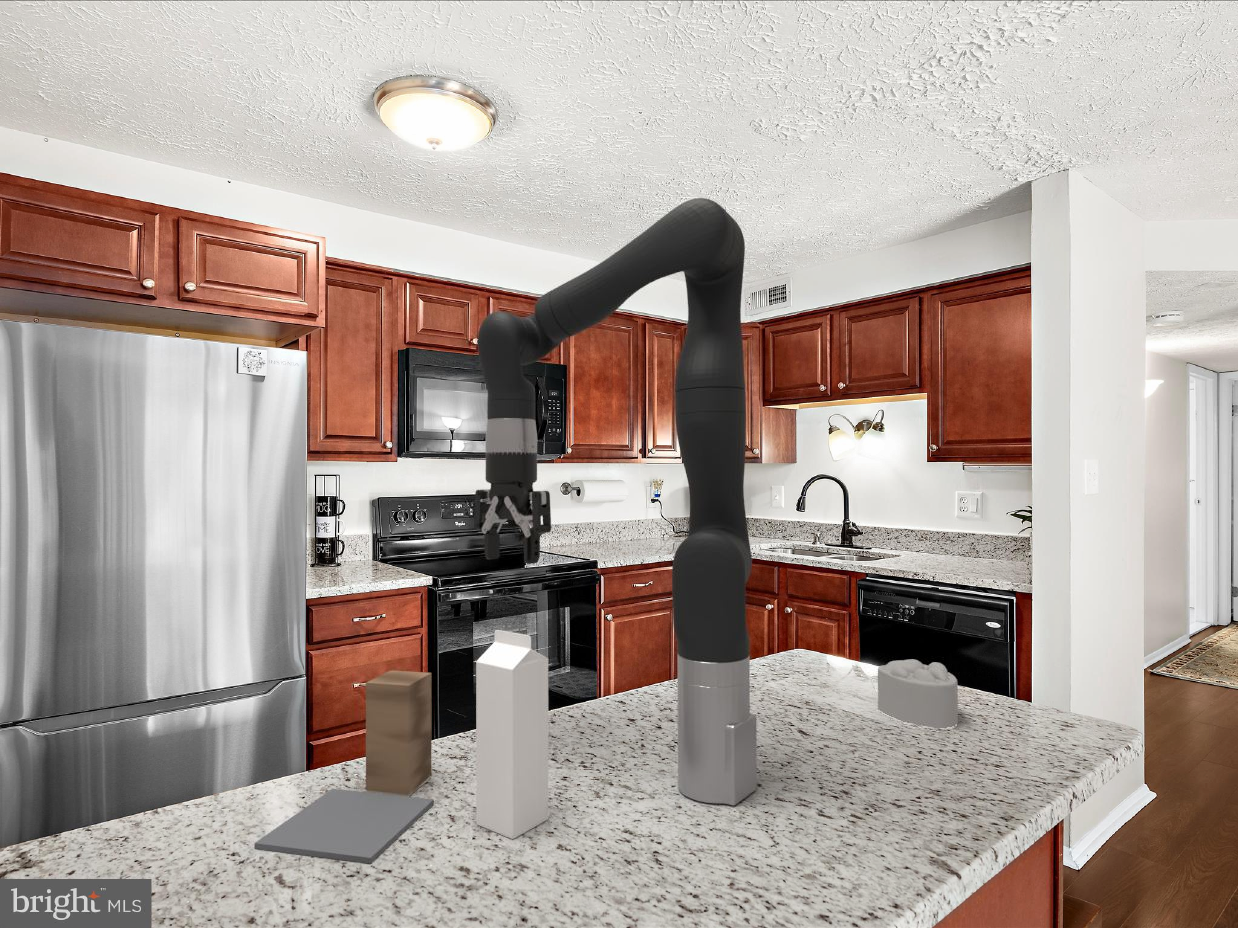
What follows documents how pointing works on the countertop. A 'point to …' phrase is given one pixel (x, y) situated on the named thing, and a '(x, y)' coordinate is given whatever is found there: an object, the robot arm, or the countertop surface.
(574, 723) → the countertop surface
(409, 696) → the light wood block
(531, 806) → the milk
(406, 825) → the mat
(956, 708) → the lumpy-topped squat cylinder
